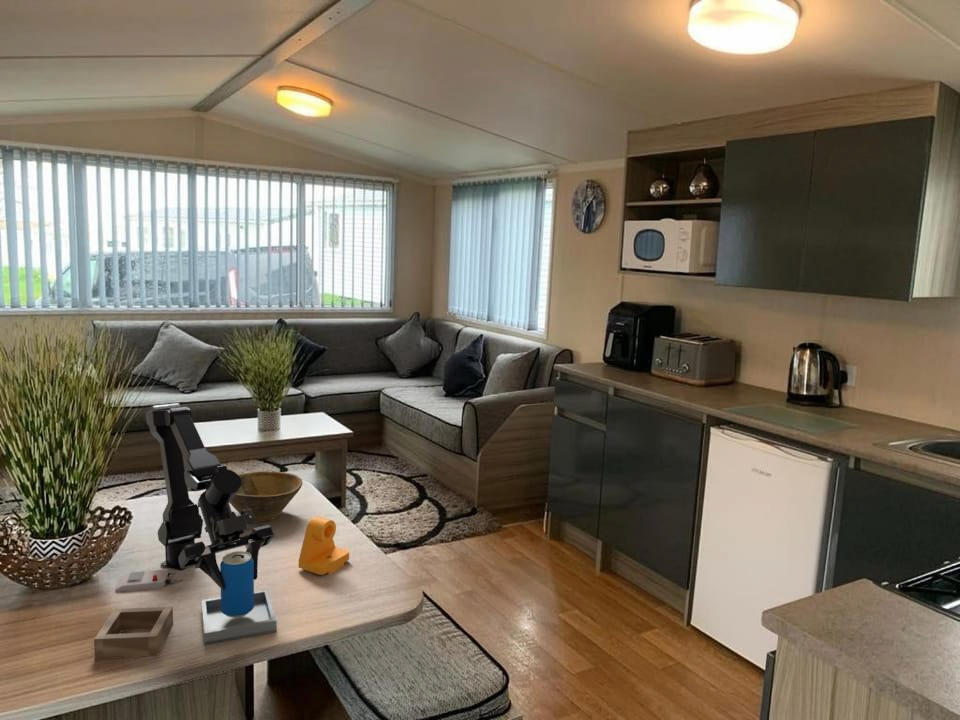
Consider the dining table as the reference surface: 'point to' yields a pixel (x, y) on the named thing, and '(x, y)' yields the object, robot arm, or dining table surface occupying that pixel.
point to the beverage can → (237, 584)
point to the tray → (237, 620)
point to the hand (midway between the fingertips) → (239, 583)
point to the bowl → (266, 493)
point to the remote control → (144, 580)
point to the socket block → (134, 644)
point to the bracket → (321, 548)
